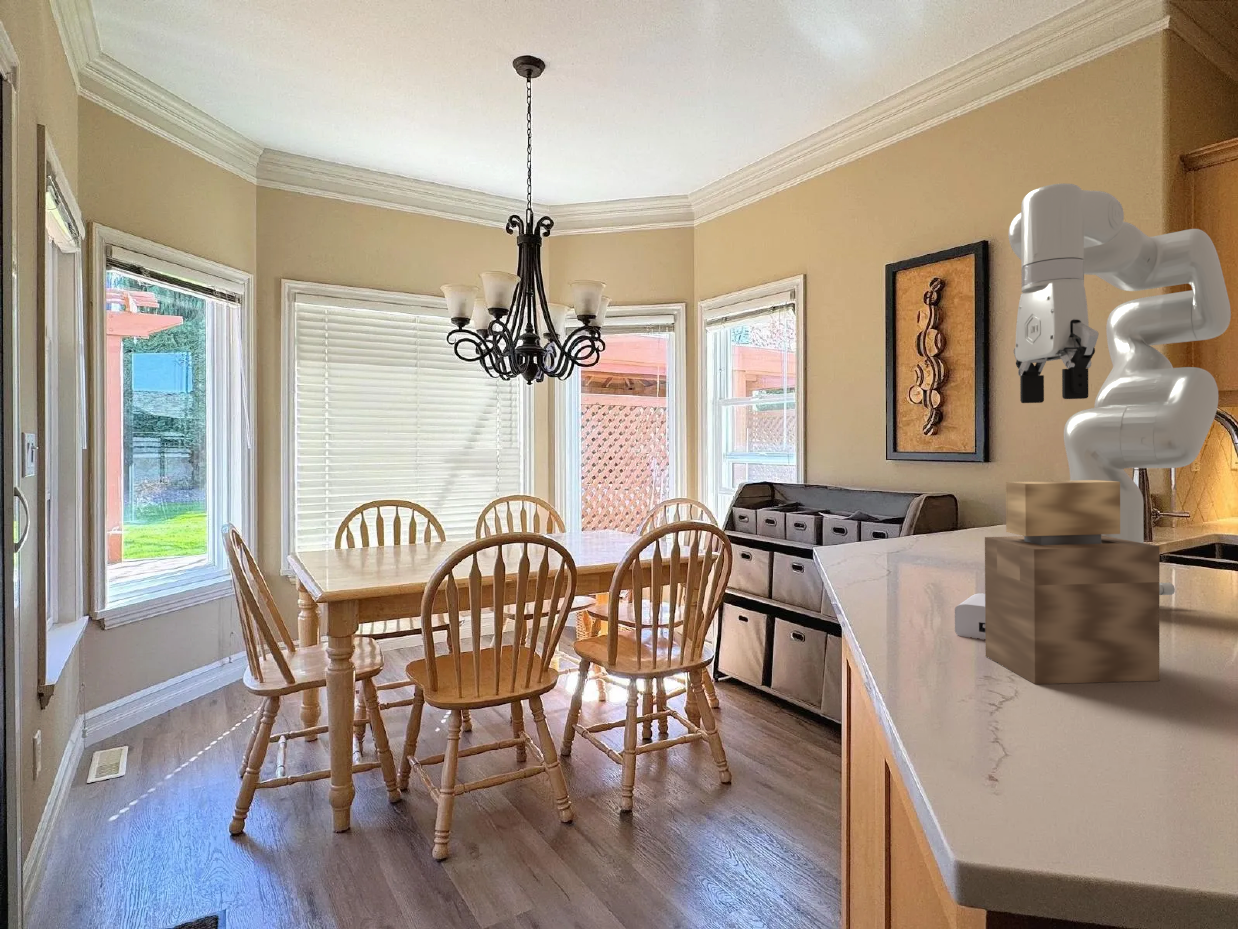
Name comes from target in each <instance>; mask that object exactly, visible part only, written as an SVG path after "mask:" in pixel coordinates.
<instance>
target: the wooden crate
mask: <svg viewBox="0 0 1238 929" xmlns="http://www.w3.org/2000/svg"><path fill="white" fill-rule="evenodd" d="M1159 583H1160V545H1154V544H1150V543H1145V542H1143V543H1140V542H1134V541H1129V540H1123V539H1118V538H1113V537H1107V536H1102V535H1101V544H1069V545H1038V544H1034V543H1030V542H1026V541H1024V536H1022V535H1018V536H1017V535H1015V536H1014V535H1013V536H984V594H985V637H986V640H985V657H986V656H987V657H989V658H991V659H992V660H991V659H990V660H991V661H993V662H995V661H996V662H998V663H999V664H998V663H997V664H998V665H1000V664H1001V665H1000V666H1002V665H1003V666H1002V667H1004V668H1005V667H1007V668H1008V669H1007V668H1006V669H1007V670H1009V671H1011V672H1012V671H1013V673H1015V674H1016V675H1018V676H1020V677H1021V678H1023V679H1025V680H1027V681H1029V682H1031V683H1033V684H1034V685H1048V684H1049V685H1050V684H1053V685H1054V684H1080V683H1081V684H1084V683H1085V684H1086V683H1089V684H1090V683H1117V682H1120V683H1121V682H1122V683H1123V682H1124V683H1125V682H1153V681H1154V682H1155V681H1157V682H1158V681H1160V595H1159ZM987 657H986V658H987ZM989 658H988V659H989ZM996 662H995V663H996Z"/></svg>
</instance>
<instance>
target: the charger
mask: <svg viewBox="0 0 1238 929" xmlns="http://www.w3.org/2000/svg"><path fill="white" fill-rule="evenodd" d="M954 632H955V634H956V635H957V636H959V637H963V638H970V637H972V639H977V638H980V639H979V640H984V639H986V637H985V592H984V593H981V592H980V593H975V594H972V595H970V597H968V598H967V599H965V600H964V601H962V602H961V603H959V604H957V606H955V608H954Z"/></svg>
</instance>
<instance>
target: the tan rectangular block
mask: <svg viewBox="0 0 1238 929" xmlns="http://www.w3.org/2000/svg"><path fill="white" fill-rule="evenodd" d="M1005 511H1006V512H1005V516H1006V517H1005V520H1006V521H1005V525H1006V526H1005V530H1006V533H1009V534H1013V535H1018V536H1024V541H1026V542H1030V543H1034V544H1038V545H1069V544H1101V534H1120V482H1116V481H1103V480H1077V481H1070V480H1042V481H1041V480H1040V481H1034V480H1033V481H1006V482H1005Z"/></svg>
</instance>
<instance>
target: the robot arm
mask: <svg viewBox="0 0 1238 929" xmlns="http://www.w3.org/2000/svg"><path fill="white" fill-rule="evenodd" d="M1020 205H1021V209H1020V210H1021V211H1020V212H1019V213H1018V214H1016V215H1015V216H1014V217H1013V219H1012V220H1011V223H1010V224H1009V227H1008V241H1009V242H1008V243H1009V245H1010V248H1011V250H1012V252H1013V253H1014V255H1015V256H1016V257H1017V258H1018V259H1020V260H1021V270H1020V271H1021V274H1020V275H1021V293H1020V298H1019V302H1018V308H1017V316H1016V327H1015V328H1016V329H1015V344H1014V345H1015V348H1014V349H1013V355H1014V357H1015V365H1016V368H1017V369H1018V373H1017V374H1018V376H1019V379H1020V380H1019V382H1020V384H1019V386H1020V388H1019V389H1020V391H1019V392H1020V393H1019V394H1020V402H1021V403H1022V404H1040V403H1041V404H1042V403H1044V400H1045V375H1044V374H1043V375H1041V373H1042V372H1043V370H1044V367H1045V366H1046V363H1047V362H1051V361H1058V360H1061V361H1062V363H1063V365H1064V366H1065V367H1066V368H1062V369H1061V373H1062V374H1061V375H1062V378H1061V380H1062V381H1061V387H1062V389H1061V392H1062V396H1061V397H1062V399H1063V400H1081V399H1082V400H1084V399H1088V397H1089V369H1090V368H1091V366H1092V358H1093V356H1094V355H1095V352H1096V348H1095V347H1096V345H1097V341H1098V339H1099V332H1098V331H1097V330H1096V329H1095V328H1092V327H1090V324H1089V312H1088V311H1089V309H1088V302H1087V295H1086V288H1085V275H1089V276H1092V275H1094V276H1096V277H1098V278H1100V279H1101V280H1103V281H1105V282H1106V283H1108V284H1109V285H1111V286H1113V287H1115V288H1117V289H1119V290H1121V291H1127V292H1139V291H1145V290H1151V289H1152V290H1153V289H1160V288H1165V287H1171V286H1172V287H1173V286H1178V285H1185V284H1188V285H1190V286H1191V290H1185V291H1179V292H1173V293H1164V294H1157V295H1153V296H1145V297H1140V298H1136V299H1131V300H1128V301H1125V302H1123V303H1121V304H1119V305H1117V306H1116V307H1115V308H1114V309H1113V310H1112V311H1110V313H1109V315H1108V317H1107V319H1106V328H1105V329H1106V341H1107V348H1108V352H1109V357H1110V361H1111V363H1112V369H1111V371H1109V374H1108V375H1107V377H1106V379H1105V380H1104V382H1103V383H1102V385H1101V387H1100V389H1099V391H1098V393H1097V395H1096V397H1095V401H1094V407H1091V408H1088V409H1082V410H1080V411H1077V412H1076V413H1074V414H1073V415H1071V416H1069V418H1068V419H1067V421H1066V423H1065V425H1064V427H1063V442H1064V444H1063V445H1064V449H1065V453H1066V458H1067V463H1068V470H1069V481H1077V480H1103V481H1116V482H1120V534H1101V535H1102V536H1107V537H1113V538H1118V539H1123V540H1129V541H1134V542H1140V543H1144V510H1145V509H1144V505H1145V504H1144V496H1143V494H1142V492H1141V489H1140V488H1139V486H1138V485H1137V483H1136V482H1135V481H1134V480H1133V479H1132V478H1131V477H1130V475H1129V474H1128V473H1127V472H1126V471H1125V470H1124V469H1177V468H1184V467H1187V466H1189V465H1191V464H1192V463H1193V462H1194V461H1195V460H1196V459H1197V457H1198V456H1199V454H1200V453H1201V452H1200V451H1201V450H1202V448H1203V446H1204V443H1205V440H1206V438H1207V436H1208V433H1209V431H1210V429H1211V427H1212V424H1213V422H1214V420H1215V417H1216V414H1217V411H1218V405H1219V388H1218V385H1217V382H1216V379H1215V377H1214V376H1213V375H1212V374H1211V372H1209V371H1208V370H1206V369H1204V368H1201V367H1194V366H1192V367H1191V366H1186V367H1185V366H1183V367H1173V365H1172V363H1171V362H1170V360H1169V359H1168V357H1167V356H1165V355H1164V354H1163V353H1162V352H1160V351H1159V350H1157V349H1156V348H1155V347H1153V346H1158V345H1159V346H1160V345H1168V344H1178V343H1187V342H1188V343H1189V342H1196V341H1206V340H1211V339H1215V338H1217V337H1220V336H1221V335H1222V334H1224V333H1225V332H1226V330H1227V329H1228V328H1229V325H1230V323H1231V318H1232V313H1231V312H1232V310H1231V304H1230V302H1231V301H1230V299H1229V296H1228V291H1227V287H1226V282H1225V278H1224V277H1225V276H1224V274H1223V270H1222V266H1221V261H1220V259H1219V254H1218V251H1217V250H1216V246H1215V245H1214V243H1213V241H1212V239H1211V237H1210V236H1209V235H1208V234H1207V232H1205V231H1203V230H1202V229H1199V228H1189V229H1183V230H1181V231H1180V230H1179V231H1175V232H1169V233H1164V234H1160V235H1155V236H1148V235H1147V234H1146V233H1144V232H1143V231H1142V230H1141V229H1140V228H1138V227H1137V226H1136V225H1134V224H1132V223H1130V222H1127V221H1124V219H1125V214H1124V213H1125V211H1124V208H1123V206H1122V203H1121V202H1120V201H1119V200H1118V198H1116V197H1115V196H1113V195H1112V194H1111V193H1109V192H1105V191H1101V190H1087V189H1085V190H1084V189H1082V188H1081V187H1080V186H1078V185H1077V184H1073V183H1055V184H1048V185H1043V186H1040V187H1038V188H1035V189H1033V190H1031V191H1029V192H1028V193H1027V194H1026V195H1024V197H1023V199H1022V201H1021V204H1020ZM1034 364H1035V365H1034ZM1175 588H1176V587H1175V585H1174V584H1173V583H1172V582H1159V596H1172V595H1174V593H1175V591H1176V589H1175Z"/></svg>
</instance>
